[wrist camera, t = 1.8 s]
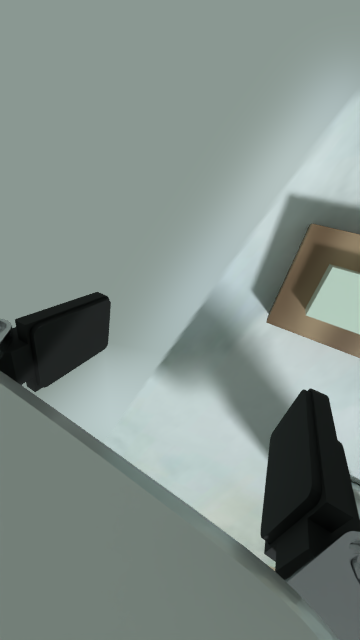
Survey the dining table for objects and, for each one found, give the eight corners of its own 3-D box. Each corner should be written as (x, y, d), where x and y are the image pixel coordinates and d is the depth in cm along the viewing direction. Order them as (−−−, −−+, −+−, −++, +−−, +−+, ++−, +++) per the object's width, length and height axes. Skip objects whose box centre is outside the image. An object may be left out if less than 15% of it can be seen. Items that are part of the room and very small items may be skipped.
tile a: (389, 280, 20) (398, 285, 18) (356, 327, 22) (361, 335, 20) (329, 263, 21) (332, 266, 19) (304, 309, 23) (305, 315, 22)
